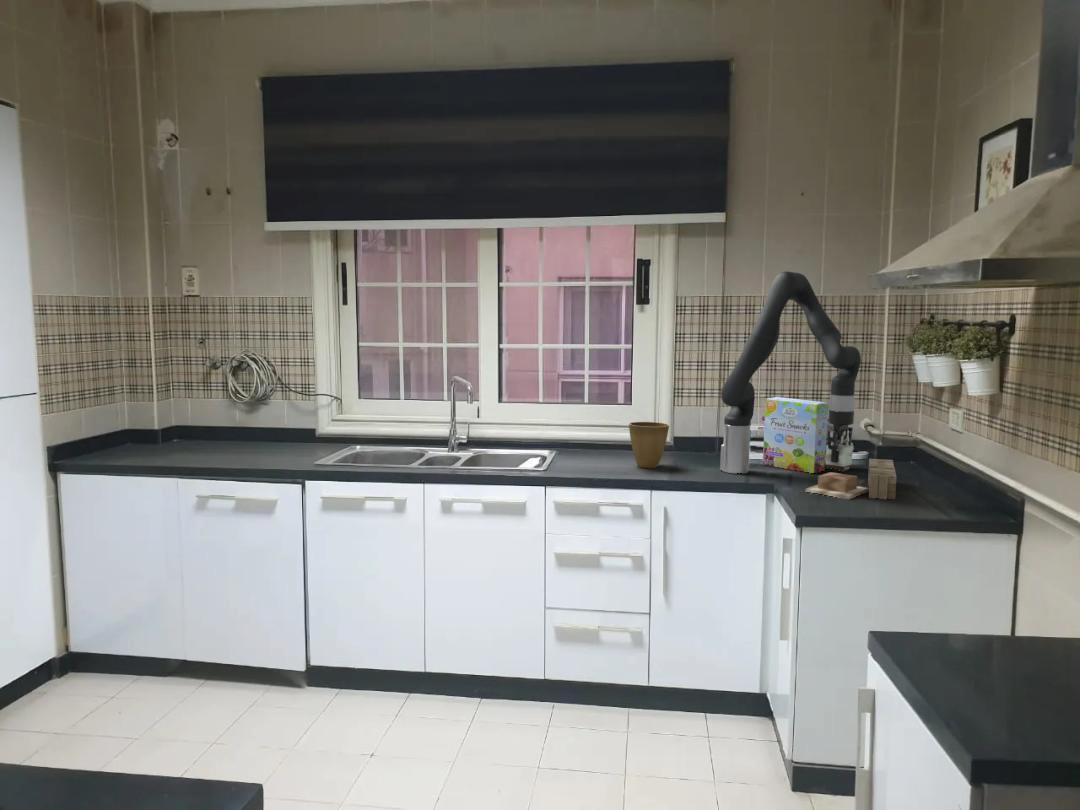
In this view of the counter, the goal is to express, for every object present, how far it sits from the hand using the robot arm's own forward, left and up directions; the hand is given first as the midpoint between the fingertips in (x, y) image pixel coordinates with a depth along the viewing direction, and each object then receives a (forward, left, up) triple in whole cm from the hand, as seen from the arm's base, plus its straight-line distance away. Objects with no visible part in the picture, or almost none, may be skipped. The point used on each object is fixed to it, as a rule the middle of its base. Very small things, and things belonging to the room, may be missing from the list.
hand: (838, 460), depth 252 cm
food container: (-15, +40, -10) cm, 44 cm away
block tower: (+9, +14, -11) cm, 20 cm away
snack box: (-28, +27, -10) cm, 40 cm away
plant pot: (-68, -9, -10) cm, 69 cm away
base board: (0, 0, -10) cm, 10 cm away
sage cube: (0, 0, -1) cm, 1 cm away
